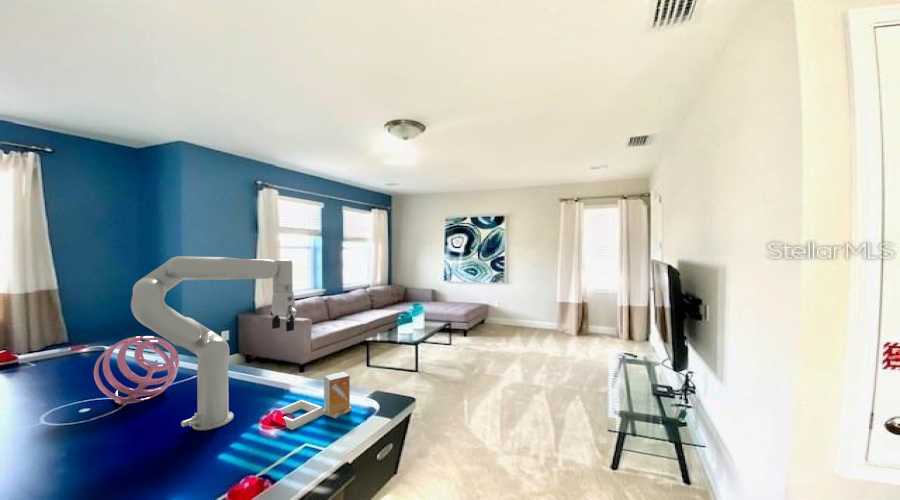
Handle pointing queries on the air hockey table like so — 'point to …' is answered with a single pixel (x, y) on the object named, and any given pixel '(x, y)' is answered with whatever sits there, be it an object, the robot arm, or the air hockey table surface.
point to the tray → (312, 414)
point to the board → (337, 413)
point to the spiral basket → (142, 363)
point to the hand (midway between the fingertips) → (283, 329)
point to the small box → (336, 392)
